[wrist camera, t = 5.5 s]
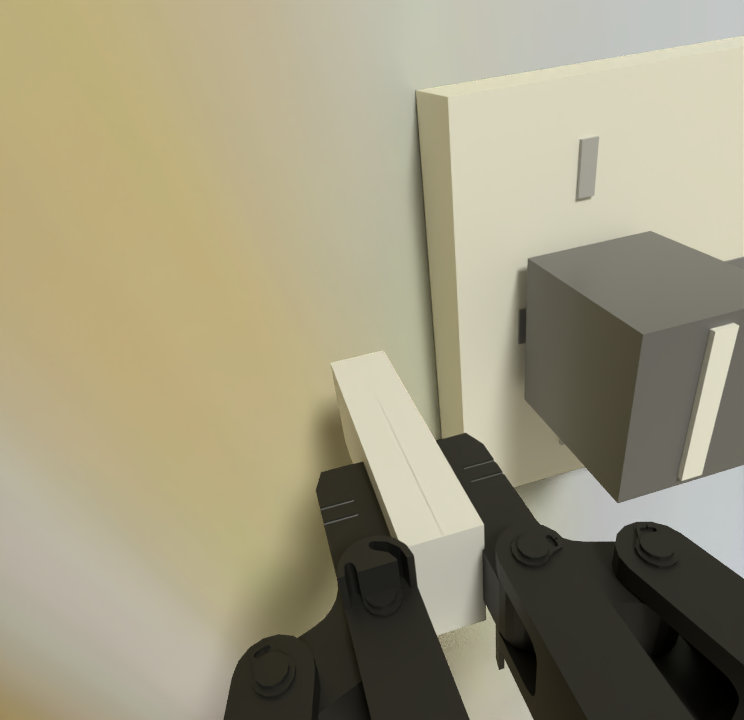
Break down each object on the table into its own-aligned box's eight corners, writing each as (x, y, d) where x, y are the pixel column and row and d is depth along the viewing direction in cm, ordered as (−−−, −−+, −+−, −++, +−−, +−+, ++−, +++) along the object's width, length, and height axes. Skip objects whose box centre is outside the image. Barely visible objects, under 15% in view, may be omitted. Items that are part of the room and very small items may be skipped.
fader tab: (524, 399, 18) (621, 507, 14) (527, 258, 16) (647, 337, 12) (630, 370, 19) (755, 466, 15) (650, 230, 16) (808, 296, 12)
